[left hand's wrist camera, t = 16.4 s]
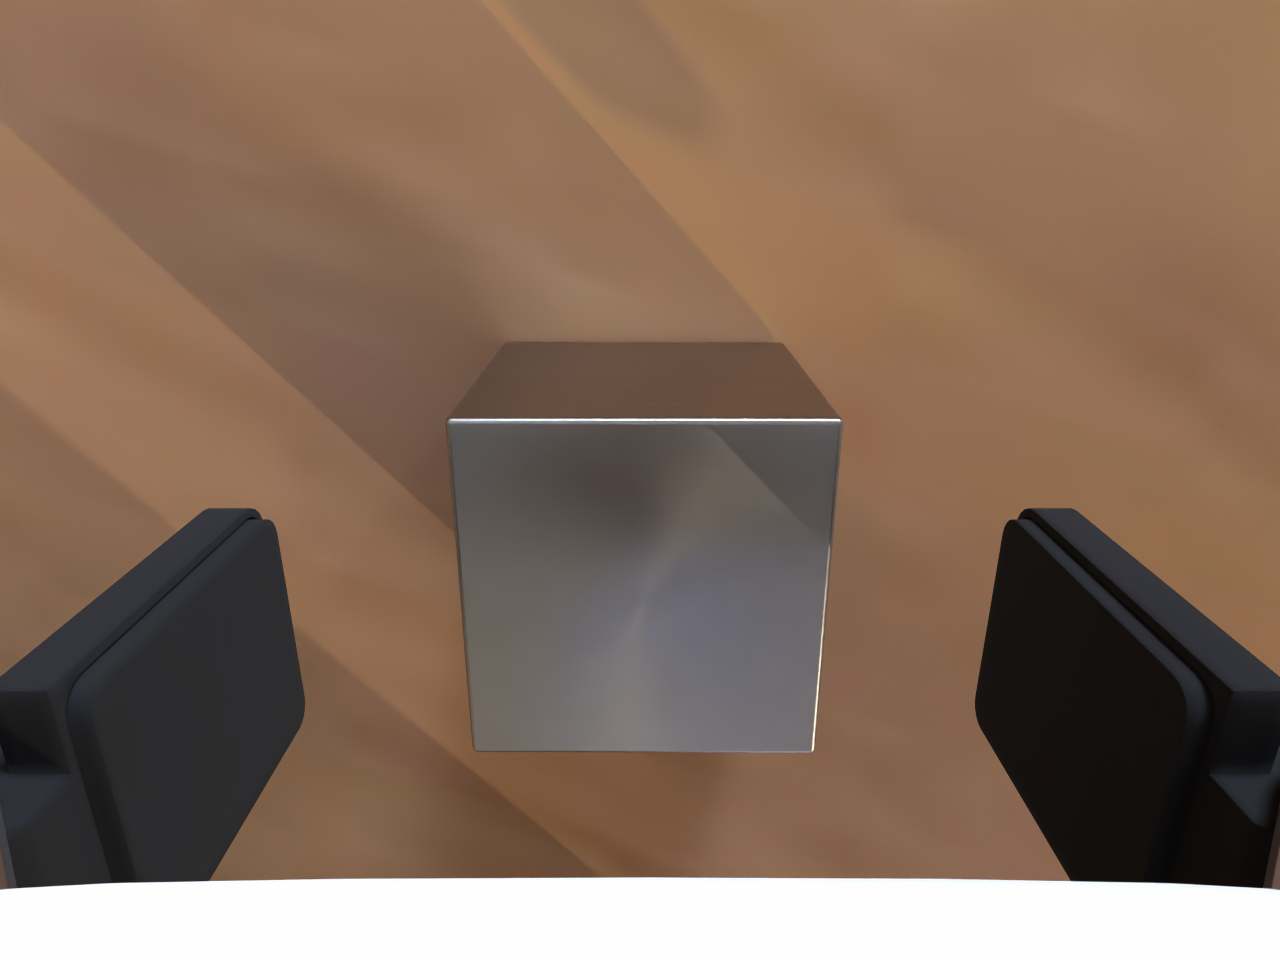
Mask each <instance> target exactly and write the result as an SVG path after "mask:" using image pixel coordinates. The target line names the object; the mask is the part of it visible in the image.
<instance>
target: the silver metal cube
mask: <svg viewBox="0 0 1280 960" xmlns="http://www.w3.org/2000/svg"><path fill="white" fill-rule="evenodd" d="M842 429H843V422H842V419H841V418H840V416H839V415H838V414H837V413H836V411H835V410H834V409H833V407H832V406H831V405H830V403H829V402H828V401H827V400H826V398H825V397H824V396H823V394H822V393H821V392H820V391H819V389H818V388H817V387H816V385H815V384H814V383H813V381H812V380H811V379H810V378H809V376H808V375H807V374H806V372H805V371H804V370H803V368H802V367H801V366H800V365H799V363H798V362H797V361H796V359H795V358H794V357H793V355H792V354H791V353H790V352H789V350H788V349H787V348H786V346H785V345H784V344H782V343H596V342H508V343H505V344H504V345H503V347H502V348H501V349H500V351H499V352H498V353H497V354H496V356H495V357H494V358H493V360H492V361H491V362H490V364H489V365H488V366H487V368H486V369H485V370H484V371H483V373H482V374H481V375H480V377H479V378H478V379H477V381H476V382H475V383H474V384H473V386H472V387H471V388H470V390H469V391H468V392H467V394H466V395H465V396H464V397H463V399H462V400H461V401H460V403H459V404H458V405H457V407H456V408H455V409H454V411H453V412H452V413H451V414H450V416H449V417H448V418H447V421H446V430H447V442H448V454H449V466H450V478H451V490H452V502H453V514H454V527H455V539H456V551H457V563H458V575H459V587H460V599H461V611H462V623H463V636H464V648H465V660H466V672H467V684H468V696H469V708H470V720H471V733H472V745H473V749H474V751H477V752H751V753H810V752H813V750H814V748H815V739H816V727H817V716H818V704H819V693H820V681H821V670H822V658H823V647H824V635H825V624H826V612H827V601H828V589H829V578H830V566H831V555H832V543H833V532H834V521H835V509H836V498H837V486H838V475H839V463H840V452H841V440H842Z"/></svg>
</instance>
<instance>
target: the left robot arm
mask: <svg viewBox="0 0 1280 960" xmlns="http://www.w3.org/2000/svg"><path fill="white" fill-rule="evenodd" d="M304 710H305V698H304V691H303V685H302V679H301V673H300V667H299V661H298V655H297V649H296V643H295V637H294V631H293V625H292V619H291V613H290V607H289V601H288V595H287V589H286V583H285V577H284V571H283V565H282V559H281V553H280V547H279V541H278V535H277V531H276V527H275V525H274V523H273V522H272V521H271V520H263V519H262V517H261V515H260V514H259V512H258V511H256V510H255V509H250V508H208V509H206V510H204V511H202V512H201V513H200V514H199V515H198V516H196V517H195V518H194V519H193V520H191V521H190V522H189V523H188V524H187V525H185V526H184V527H183V528H182V529H180V530H179V531H178V532H177V533H176V534H174V535H173V536H172V537H171V538H169V539H168V540H167V541H166V542H165V543H163V544H162V545H161V546H160V547H158V548H157V549H156V550H155V551H154V552H152V553H151V554H150V555H149V556H147V557H146V558H145V559H144V560H143V561H141V562H140V563H139V564H138V565H136V566H135V567H134V568H133V569H132V570H130V571H129V572H128V573H127V574H125V575H124V576H123V577H122V578H121V579H119V580H118V581H117V582H116V583H114V584H113V585H112V586H111V587H110V588H108V589H107V590H106V591H105V592H103V593H102V594H101V595H100V596H99V597H97V598H96V599H95V600H94V601H92V602H91V603H90V604H89V605H88V606H86V607H85V608H84V609H83V610H81V611H80V612H79V613H78V614H77V615H75V616H74V617H73V618H72V619H70V620H69V621H68V622H67V623H66V624H64V625H63V626H62V627H61V628H59V629H58V630H57V631H56V632H55V633H53V634H52V635H51V636H50V637H48V638H47V639H46V640H45V641H44V642H42V643H41V644H40V645H39V646H37V647H36V648H35V649H34V650H33V651H31V652H30V653H29V654H28V655H26V656H25V657H24V658H23V659H22V660H20V661H19V662H18V663H17V664H15V665H14V666H13V667H12V668H11V669H9V670H8V671H7V672H6V673H4V674H3V675H2V676H1V677H0V960H1280V677H1279V676H1278V675H1277V674H1276V673H1274V672H1273V671H1272V670H1271V669H1269V668H1268V667H1267V666H1266V665H1265V664H1263V663H1262V662H1261V661H1260V660H1258V659H1257V658H1256V657H1255V656H1254V655H1252V654H1251V653H1250V652H1249V651H1247V650H1246V649H1245V648H1244V647H1243V646H1241V645H1240V644H1239V643H1238V642H1236V641H1235V640H1234V639H1233V638H1232V637H1230V636H1229V635H1228V634H1227V633H1225V632H1224V631H1223V630H1222V629H1221V628H1219V627H1218V626H1217V625H1216V624H1214V623H1213V622H1212V621H1211V620H1210V619H1208V618H1207V617H1206V616H1205V615H1203V614H1202V613H1201V612H1200V611H1199V610H1197V609H1196V608H1195V607H1194V606H1192V605H1191V604H1190V603H1189V602H1188V601H1186V600H1185V599H1184V598H1183V597H1181V596H1180V595H1179V594H1178V593H1177V592H1175V591H1174V590H1173V589H1172V588H1170V587H1169V586H1168V585H1167V584H1166V583H1164V582H1163V581H1162V580H1161V579H1159V578H1158V577H1157V576H1156V575H1155V574H1153V573H1152V572H1151V571H1150V570H1148V569H1147V568H1146V567H1145V566H1144V565H1142V564H1141V563H1140V562H1139V561H1137V560H1136V559H1135V558H1134V557H1133V556H1131V555H1130V554H1129V553H1128V552H1126V551H1125V550H1124V549H1123V548H1122V547H1120V546H1119V545H1118V544H1117V543H1115V542H1114V541H1113V540H1112V539H1111V538H1109V537H1108V536H1107V535H1106V534H1104V533H1103V532H1102V531H1101V530H1100V529H1098V528H1097V527H1096V526H1095V525H1093V524H1092V523H1091V522H1090V521H1089V520H1087V519H1086V518H1085V517H1084V516H1082V515H1081V514H1080V513H1079V512H1078V511H1076V510H1074V509H1072V508H1030V509H1025V510H1024V511H1022V512H1021V514H1020V515H1019V517H1018V519H1017V520H1009V521H1008V522H1007V523H1006V525H1005V527H1004V531H1003V535H1002V541H1001V547H1000V553H999V559H998V565H997V571H996V577H995V583H994V589H993V595H992V601H991V607H990V613H989V619H988V625H987V631H986V637H985V643H984V649H983V655H982V661H981V667H980V673H979V679H978V685H977V691H976V698H975V710H976V717H977V720H978V724H979V726H980V728H981V730H982V732H983V733H984V735H985V737H986V738H987V740H988V742H989V743H990V745H991V747H992V748H993V750H994V752H995V754H996V755H997V757H998V759H999V760H1000V762H1001V764H1002V765H1003V767H1004V769H1005V770H1006V772H1007V774H1008V775H1009V777H1010V779H1011V780H1012V782H1013V784H1014V786H1015V787H1016V789H1017V791H1018V792H1019V794H1020V796H1021V797H1022V799H1023V801H1024V802H1025V804H1026V806H1027V807H1028V809H1029V811H1030V813H1031V814H1032V816H1033V818H1034V819H1035V821H1036V823H1037V824H1038V826H1039V828H1040V829H1041V831H1042V833H1043V834H1044V836H1045V838H1046V840H1047V841H1048V843H1049V845H1050V846H1051V848H1052V850H1053V851H1054V853H1055V855H1056V856H1057V858H1058V860H1059V861H1060V863H1061V865H1062V867H1063V868H1064V870H1065V872H1066V873H1067V875H1068V877H1069V878H1070V880H1071V881H1024V880H970V879H839V878H441V879H310V880H256V881H209V880H210V878H211V877H212V875H213V873H214V872H215V870H216V868H217V867H218V865H219V863H220V861H221V860H222V858H223V856H224V855H225V853H226V851H227V850H228V848H229V846H230V845H231V843H232V841H233V840H234V838H235V836H236V834H237V833H238V831H239V829H240V828H241V826H242V824H243V823H244V821H245V819H246V818H247V816H248V814H249V813H250V811H251V809H252V807H253V806H254V804H255V802H256V801H257V799H258V797H259V796H260V794H261V792H262V791H263V789H264V787H265V786H266V784H267V782H268V781H269V779H270V777H271V775H272V774H273V772H274V770H275V769H276V767H277V765H278V764H279V762H280V760H281V759H282V757H283V755H284V754H285V752H286V750H287V748H288V747H289V745H290V743H291V742H292V740H293V738H294V737H295V735H296V733H297V732H298V730H299V728H300V726H301V724H302V720H303V717H304Z"/></svg>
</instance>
